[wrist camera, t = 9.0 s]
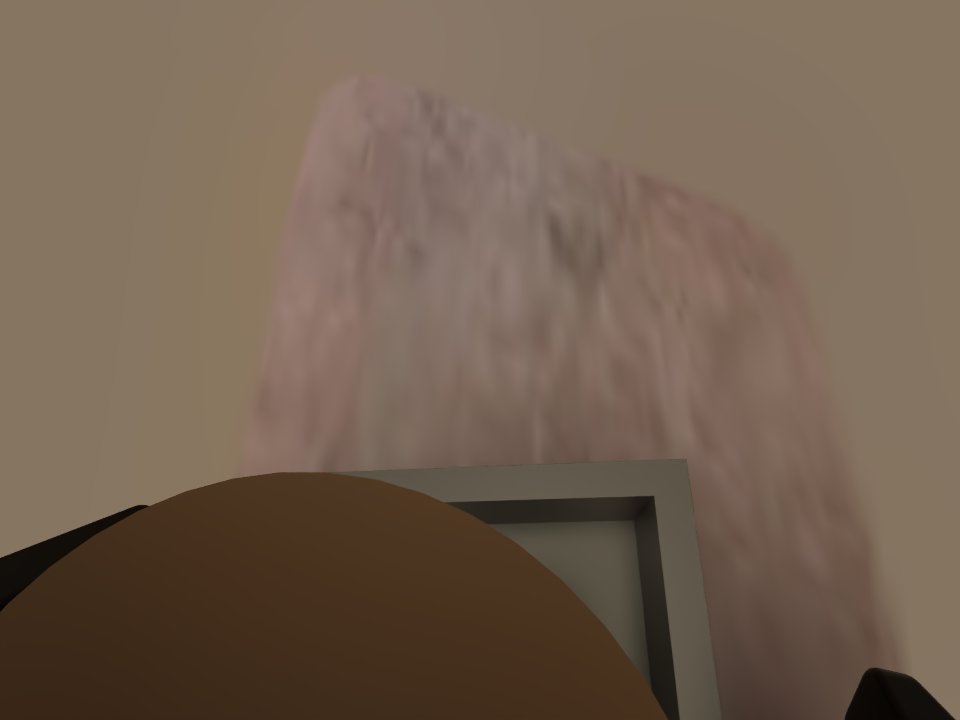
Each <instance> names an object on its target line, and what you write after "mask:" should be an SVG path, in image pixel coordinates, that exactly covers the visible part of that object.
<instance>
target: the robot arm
mask: <svg viewBox="0 0 960 720" xmlns="http://www.w3.org/2000/svg"><path fill="white" fill-rule="evenodd" d="M147 507H149V506H147V505H138V506H134V507H131V508H129V509H126V510H124V511H121V512H118V513H116V514H113V515H111V516H108V517H105V518H103V519H100V520H98V521H95V522H92V523H90V524H88V525H85V526H82V527H80V528H77V529H74V530H72V531H69V532H67V533H64V534H61V535H59V536H56V537H54V538H51V539H48V540H46V541H43V542H40V543H38V544H35V545H33V546H30V547H28V548H25V549H22V550H20V551H17V552H14V553H12V554H10V555H7V556H4V557H1V558H0V612H1V611H2V610H3V608H4V607H5V606H6V605H7V604H8V603H9V602H10V601H12V600H13V599H14V598H15V597H16V596H17V595H18V594H20V593H21V592H22V591H23V590H24V589H25V588H26V587H28V586H29V585H30V584H31V583H32V582H33V581H34V580H36V579H37V578H38V577H39V576H40V575H41V574H42V573H44V572H45V571H46V570H47V569H48V568H49V567H50V566H52V565H53V564H55V563H56V562H57V561H59V560H60V559H62V558H63V557H65V556H66V555H67V554H69V553H70V552H72V551H73V550H74V549H76V548H77V547H79V546H80V545H81V544H83V543H84V542H86V541H87V540H88V539H90V538H91V537H93V536H94V535H96V534H98V533H100V532H101V531H103V530H105V529H107V528H109V527H110V526H112V525H114V524H116V523H118V522H119V521H121V520H123V519H125V518H127V517H128V516H130V515H132V514H134V513H136V512H137V511H139V510H142V509H144V508H147ZM845 720H955V719H954V718H953V717H952V716H951V715H950V714H949V713H948V712H947V711H946V709H945V708H944V707H942V706H941V704H939V703H938V702H937V700H936V699H935V698H934V697H933V696H932V695H931V694H930V693H929V692H928V691H927V690H926V689H925V688H924V687H923V686H922V685H921V684H920V683H919V682H918V681H917V680H915V679H914V678H912V677H911V676H909V675H906V674H902V673H898V672H893V671H889V670H884V669H880V668H870V669H868V670H867V671H866V672H865V673H864V675H863V677H862V679H861V681H860V683H859V686H858V688H857V690H856V692H855V694H854V697H853V699H852V701H851V703H850V706H849V708H848V710H847V713H846V716H845Z"/></svg>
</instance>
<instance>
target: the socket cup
mask: <svg viewBox="0 0 960 720" xmlns="http://www.w3.org/2000/svg"><path fill="white" fill-rule="evenodd" d="M329 473H334V474H341V475H348V476H355V477H362V478H369V479H376V480H380V481H383V482H386V483H390V484H393V485H397V486H400V487H404V488H407V489H411V490H414V491H418V492H421V493H424V494H426V495H429V496H431V497H433V498H435V499H438V500H440V501H442V502H444V503H447V504H449V505H451V506H453V507H455V508H458V509H460V510H462V511H464V512H467V513H469V514H471V515H473V516H474V517H476V518H477V519H479V520H481V521H482V522H484V523H485V524H487V525H489V526H490V527H492V528H494V529H495V530H497V531H498V532H500V533H502V534H503V535H505V536H506V537H508V538H510V539H511V540H513V541H514V542H516V543H517V544H519V545H520V546H521V547H522V548H524V549H525V550H526V551H527V552H528V553H530V554H531V555H532V556H533V557H535V558H536V559H537V560H538V561H539V562H541V563H542V564H543V565H544V566H545V567H547V568H548V569H549V570H550V571H552V572H553V573H554V574H555V575H556V576H558V577H559V578H560V579H561V580H562V581H563V582H564V583H565V584H566V585H567V586H568V587H569V588H570V589H571V590H572V591H573V592H574V593H575V594H576V595H577V596H578V598H579V599H580V600H581V601H582V602H583V603H584V604H585V605H586V606H587V607H588V608H589V609H590V610H591V611H592V612H593V613H594V614H595V616H596V617H597V618H598V619H599V620H600V621H601V622H602V623H603V624H604V625H605V626H606V628H607V629H608V630H609V632H610V633H611V634H612V636H613V637H614V638H615V640H616V641H617V642H618V644H619V645H620V646H621V648H622V649H623V651H624V652H625V653H626V655H627V656H628V657H629V659H630V660H631V661H632V663H633V664H634V665H635V667H636V668H637V669H638V671H639V672H640V674H641V675H642V676H643V678H644V679H645V680H646V682H647V684H648V686H649V687H650V689H651V691H652V692H653V694H654V696H655V698H656V699H657V701H658V703H659V705H660V706H661V708H662V710H663V712H664V713H665V715H666V717H667V718H668V720H722V714H721V707H720V700H719V692H718V685H717V678H716V671H715V663H714V656H713V649H712V642H711V634H710V627H709V620H708V612H707V605H706V598H705V591H704V583H703V576H702V569H701V562H700V554H699V547H698V540H697V532H696V525H695V518H694V511H693V503H692V496H691V489H690V482H689V474H688V467H687V460H686V459H668V460H642V461H616V462H590V463H564V464H538V465H512V466H486V467H460V468H434V469H407V470H381V471H355V472H329Z"/></svg>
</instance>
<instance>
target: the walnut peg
mask: <svg viewBox="0 0 960 720" xmlns="http://www.w3.org/2000/svg"><path fill="white" fill-rule="evenodd" d="M0 720H668V718H667V717H666V715H665V713H664V712H663V710H662V708H661V706H660V705H659V703H658V701H657V699H656V698H655V696H654V694H653V692H652V691H651V689H650V687H649V686H648V684H647V682H646V680H645V679H644V678H643V676H642V675H641V674H640V672H639V671H638V669H637V668H636V667H635V665H634V664H633V663H632V661H631V660H630V659H629V657H628V656H627V655H626V653H625V652H624V651H623V649H622V648H621V646H620V645H619V644H618V642H617V641H616V640H615V638H614V637H613V636H612V634H611V633H610V632H609V630H608V629H607V628H606V626H605V625H604V624H603V623H602V622H601V621H600V620H599V619H598V618H597V617H596V616H595V614H594V613H593V612H592V611H591V610H590V609H589V608H588V607H587V606H586V605H585V604H584V603H583V602H582V601H581V600H580V599H579V598H578V596H577V595H576V594H575V593H574V592H573V591H572V590H571V589H570V588H569V587H568V586H567V585H566V584H565V583H564V582H563V581H562V580H561V579H560V578H559V577H558V576H556V575H555V574H554V573H553V572H552V571H550V570H549V569H548V568H547V567H545V566H544V565H543V564H542V563H541V562H539V561H538V560H537V559H536V558H535V557H533V556H532V555H531V554H530V553H528V552H527V551H526V550H525V549H524V548H522V547H521V546H520V545H519V544H517V543H516V542H514V541H513V540H511V539H510V538H508V537H506V536H505V535H503V534H502V533H500V532H498V531H497V530H495V529H494V528H492V527H490V526H489V525H487V524H485V523H484V522H482V521H481V520H479V519H477V518H476V517H474V516H473V515H471V514H469V513H467V512H464V511H462V510H460V509H458V508H455V507H453V506H451V505H449V504H447V503H444V502H442V501H440V500H438V499H435V498H433V497H431V496H429V495H426V494H424V493H421V492H418V491H414V490H411V489H407V488H404V487H400V486H397V485H393V484H390V483H386V482H383V481H380V480H376V479H369V478H362V477H355V476H348V475H341V474H334V473H287V472H280V473H272V474H265V475H257V476H250V477H243V478H235V479H230V480H226V481H223V482H219V483H215V484H212V485H208V486H204V487H201V488H197V489H193V490H190V491H186V492H183V493H181V494H178V495H176V496H174V497H171V498H169V499H166V500H164V501H161V502H159V503H156V504H154V505H152V506H149V507H147V508H144V509H142V510H139V511H137V512H136V513H134V514H132V515H130V516H128V517H127V518H125V519H123V520H121V521H119V522H118V523H116V524H114V525H112V526H110V527H109V528H107V529H105V530H103V531H101V532H100V533H98V534H96V535H94V536H93V537H91V538H90V539H88V540H87V541H86V542H84V543H83V544H81V545H80V546H79V547H77V548H76V549H74V550H73V551H72V552H70V553H69V554H67V555H66V556H65V557H63V558H62V559H60V560H59V561H57V562H56V563H55V564H53V565H52V566H50V567H49V568H48V569H47V570H46V571H45V572H44V573H42V574H41V575H40V576H39V577H38V578H37V579H36V580H34V581H33V582H32V583H31V584H30V585H29V586H28V587H26V588H25V589H24V590H23V591H22V592H21V593H20V594H18V595H17V596H16V597H15V598H14V599H13V600H12V601H10V602H9V603H8V604H7V605H6V606H5V607H4V608H3V610H2V611H1V612H0Z"/></svg>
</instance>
